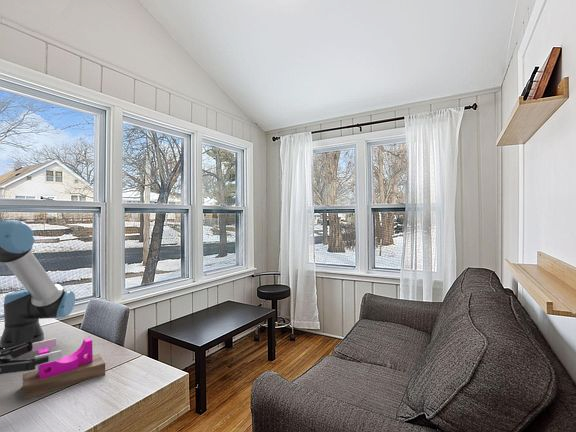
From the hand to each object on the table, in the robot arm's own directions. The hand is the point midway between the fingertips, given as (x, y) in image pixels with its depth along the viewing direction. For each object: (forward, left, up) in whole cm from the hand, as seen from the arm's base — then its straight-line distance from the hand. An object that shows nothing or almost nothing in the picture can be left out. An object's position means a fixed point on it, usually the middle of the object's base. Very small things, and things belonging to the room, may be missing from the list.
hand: (58, 347), depth 106 cm
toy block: (0, +2, -8) cm, 8 cm away
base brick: (0, +2, -12) cm, 12 cm away
